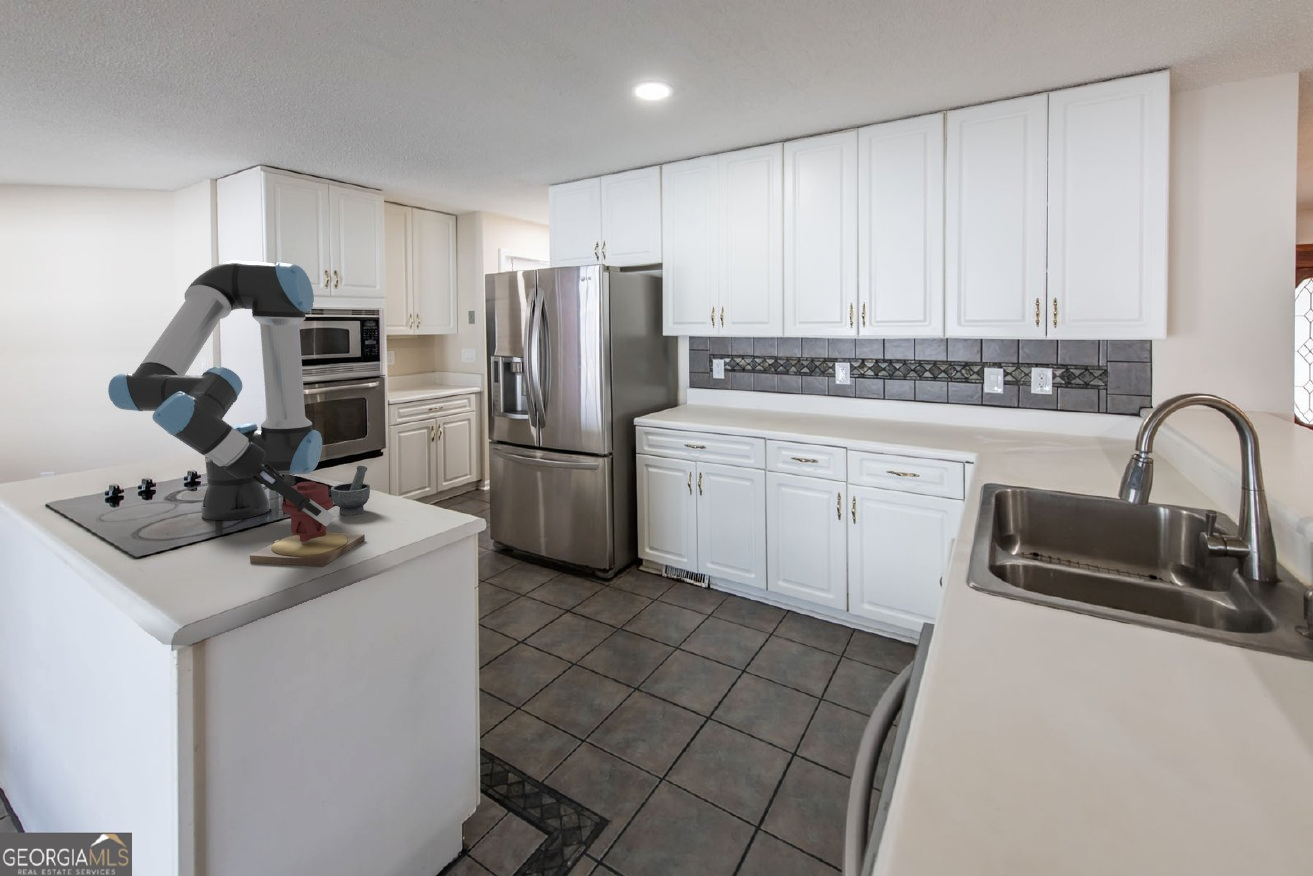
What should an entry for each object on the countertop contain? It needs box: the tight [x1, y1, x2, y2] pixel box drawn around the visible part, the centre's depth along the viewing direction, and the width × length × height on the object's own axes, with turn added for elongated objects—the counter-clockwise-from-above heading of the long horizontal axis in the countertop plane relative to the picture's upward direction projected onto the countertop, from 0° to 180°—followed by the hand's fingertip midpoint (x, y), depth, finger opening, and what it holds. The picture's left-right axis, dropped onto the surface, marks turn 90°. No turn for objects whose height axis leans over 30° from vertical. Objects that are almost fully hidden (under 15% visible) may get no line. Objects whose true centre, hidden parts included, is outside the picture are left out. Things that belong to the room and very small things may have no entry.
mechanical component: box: [281, 481, 334, 542], centre depth 141 cm, size 12×10×10 cm
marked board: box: [249, 531, 366, 567], centre depth 142 cm, size 17×16×2 cm
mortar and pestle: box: [330, 465, 371, 516], centre depth 172 cm, size 11×9×12 cm
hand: (323, 515), depth 143 cm, fingers closed on mechanical component, 10 cm apart
